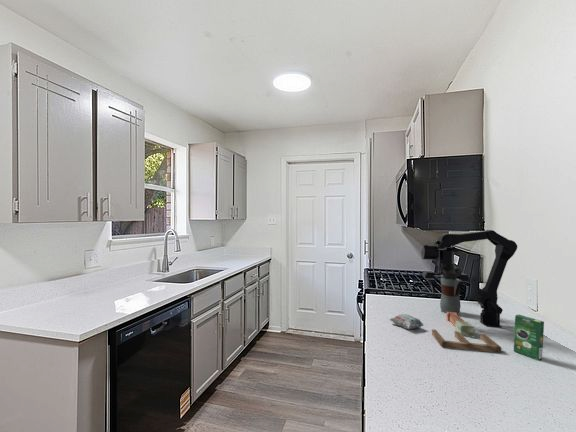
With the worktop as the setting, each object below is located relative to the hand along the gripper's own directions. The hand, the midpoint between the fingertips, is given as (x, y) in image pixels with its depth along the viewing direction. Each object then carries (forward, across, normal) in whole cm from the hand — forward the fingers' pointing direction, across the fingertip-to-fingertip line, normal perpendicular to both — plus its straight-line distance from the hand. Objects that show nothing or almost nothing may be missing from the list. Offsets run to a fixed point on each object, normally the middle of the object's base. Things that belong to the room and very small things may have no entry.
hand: (444, 294), depth 143 cm
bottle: (+12, +8, +16) cm, 22 cm away
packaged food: (+13, -19, -13) cm, 26 cm away
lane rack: (+12, -1, -26) cm, 29 cm away
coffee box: (+12, +18, -33) cm, 39 cm away
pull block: (+12, +4, -8) cm, 15 cm away
